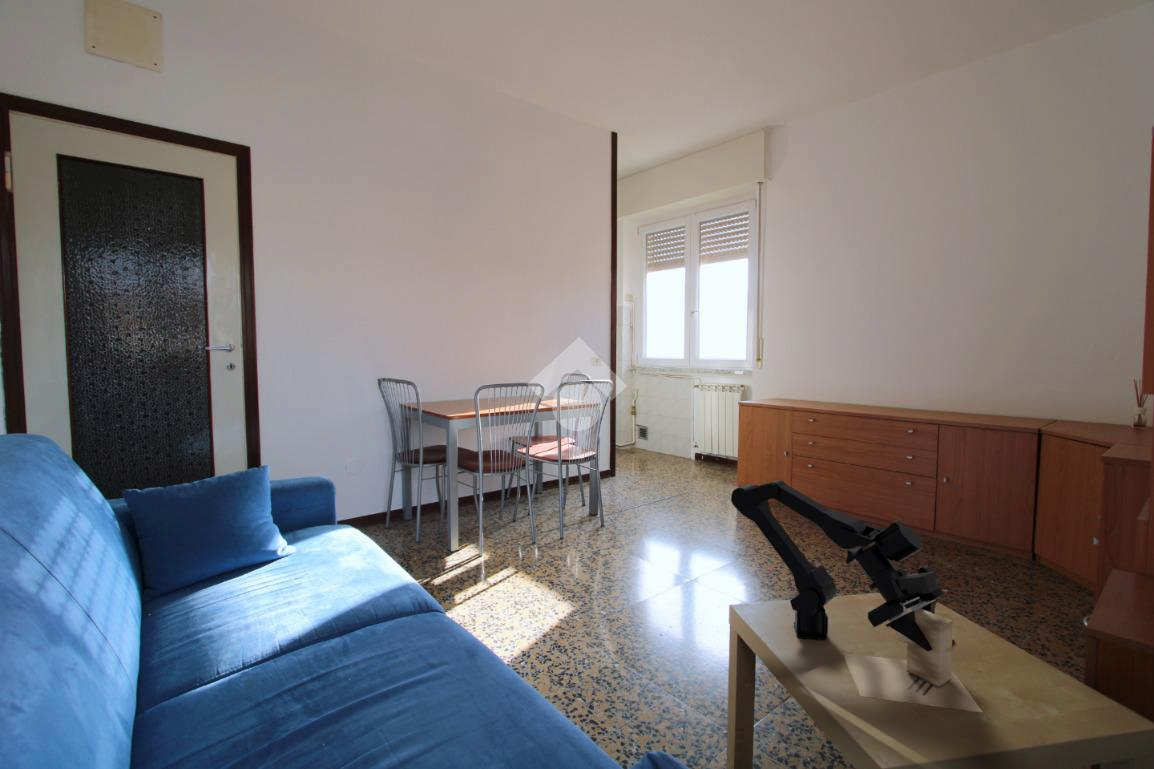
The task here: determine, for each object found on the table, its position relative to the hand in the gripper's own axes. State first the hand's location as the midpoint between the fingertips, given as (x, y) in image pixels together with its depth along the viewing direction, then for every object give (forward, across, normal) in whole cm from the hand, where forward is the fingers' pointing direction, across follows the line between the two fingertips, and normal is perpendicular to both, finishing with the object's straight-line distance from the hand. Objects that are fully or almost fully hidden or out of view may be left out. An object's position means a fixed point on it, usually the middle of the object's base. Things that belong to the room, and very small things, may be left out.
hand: (936, 647), depth 105 cm
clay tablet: (0, +14, +13) cm, 19 cm away
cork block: (+4, 0, +6) cm, 7 cm away
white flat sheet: (+4, -5, +8) cm, 10 cm away
